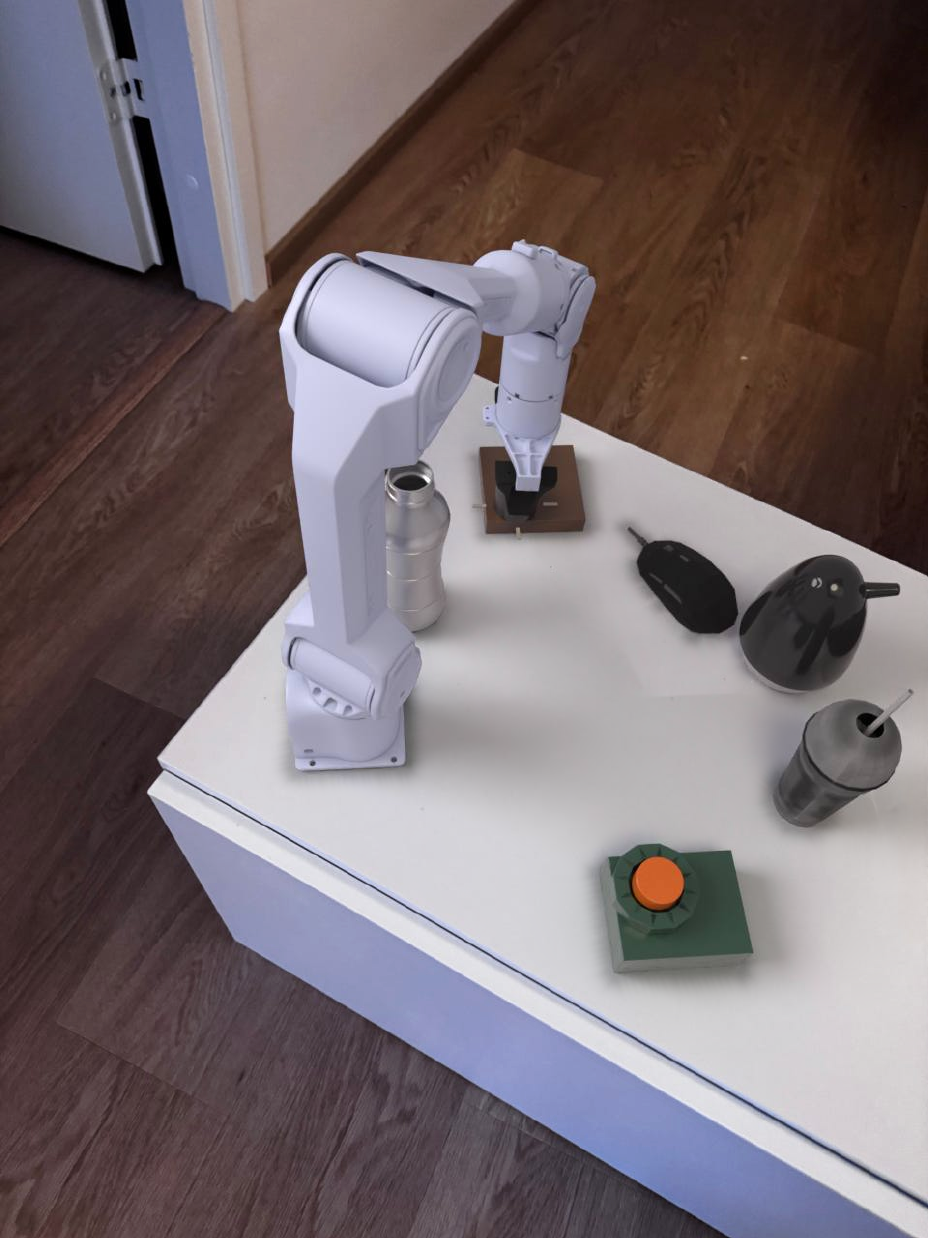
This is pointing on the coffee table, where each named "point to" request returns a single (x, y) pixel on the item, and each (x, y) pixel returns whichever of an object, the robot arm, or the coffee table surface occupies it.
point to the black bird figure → (808, 624)
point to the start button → (657, 883)
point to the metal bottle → (415, 545)
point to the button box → (676, 914)
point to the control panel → (553, 508)
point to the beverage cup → (839, 760)
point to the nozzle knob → (501, 508)
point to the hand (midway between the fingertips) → (518, 481)
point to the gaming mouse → (688, 585)
